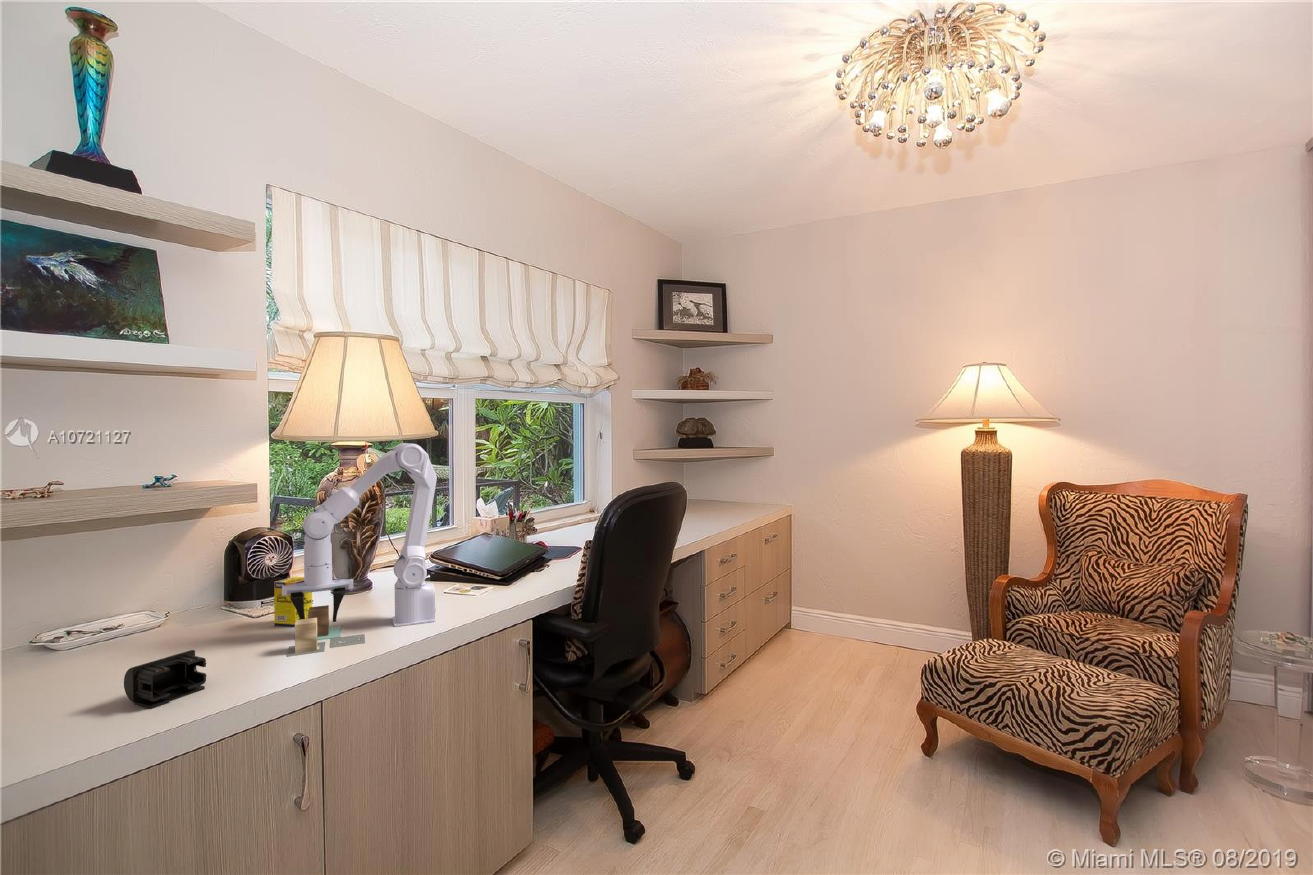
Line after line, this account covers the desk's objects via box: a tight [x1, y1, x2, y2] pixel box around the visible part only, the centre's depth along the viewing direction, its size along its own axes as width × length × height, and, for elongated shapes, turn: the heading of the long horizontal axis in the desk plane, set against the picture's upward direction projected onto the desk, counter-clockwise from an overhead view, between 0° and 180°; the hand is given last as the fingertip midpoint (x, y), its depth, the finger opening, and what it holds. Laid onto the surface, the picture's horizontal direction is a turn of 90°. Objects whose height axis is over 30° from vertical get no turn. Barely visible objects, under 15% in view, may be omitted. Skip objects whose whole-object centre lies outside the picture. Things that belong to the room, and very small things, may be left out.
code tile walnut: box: [329, 633, 366, 649], centre depth 143 cm, size 7×7×1 cm
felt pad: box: [317, 625, 342, 641], centre depth 147 cm, size 9×9×1 cm
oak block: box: [294, 618, 318, 653], centre depth 137 cm, size 4×4×6 cm
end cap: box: [123, 649, 208, 710], centre depth 114 cm, size 10×7×7 cm
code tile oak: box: [286, 641, 326, 658], centre depth 137 cm, size 7×7×1 cm
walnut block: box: [308, 604, 330, 637], centre depth 147 cm, size 4×4×6 cm
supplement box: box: [273, 576, 313, 628], centre depth 156 cm, size 6×6×11 cm
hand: (318, 622), depth 147 cm, fingers open, 6 cm apart
